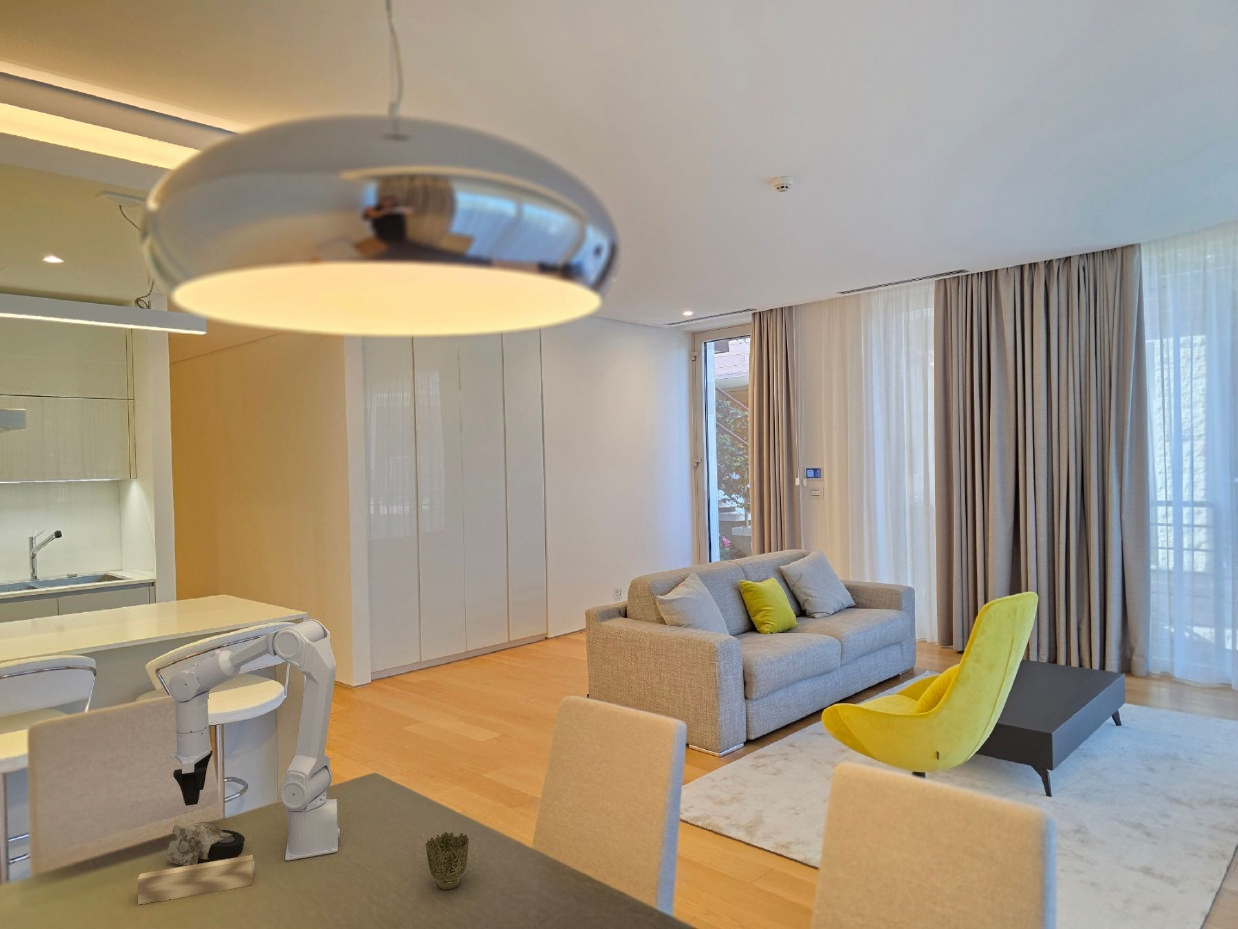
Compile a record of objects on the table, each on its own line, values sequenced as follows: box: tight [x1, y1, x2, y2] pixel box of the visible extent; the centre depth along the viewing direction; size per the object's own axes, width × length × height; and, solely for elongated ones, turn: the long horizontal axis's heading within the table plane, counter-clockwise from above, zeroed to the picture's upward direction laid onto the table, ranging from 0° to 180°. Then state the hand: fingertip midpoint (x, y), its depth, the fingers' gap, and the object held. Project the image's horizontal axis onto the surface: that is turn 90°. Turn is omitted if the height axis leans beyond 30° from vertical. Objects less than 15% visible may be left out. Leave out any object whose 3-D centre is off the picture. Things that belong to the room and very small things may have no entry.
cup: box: [425, 831, 470, 891], centre depth 144 cm, size 8×7×8 cm
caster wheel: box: [165, 821, 246, 867], centre depth 158 cm, size 7×11×10 cm
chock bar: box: [137, 854, 256, 906], centre depth 146 cm, size 18×5×4 cm, turn 109°
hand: (194, 797), depth 163 cm, fingers open, 7 cm apart
